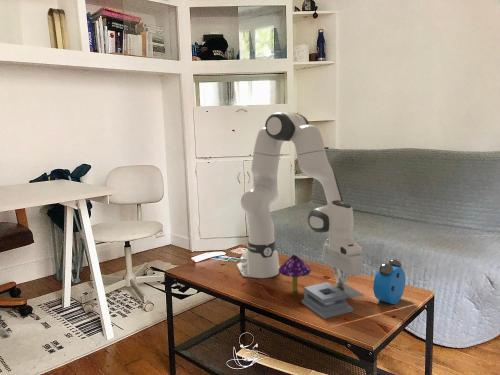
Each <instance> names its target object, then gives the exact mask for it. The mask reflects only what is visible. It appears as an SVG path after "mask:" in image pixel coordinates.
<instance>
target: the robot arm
mask: <svg viewBox="0 0 500 375" xmlns="http://www.w3.org/2000/svg"><path fill="white" fill-rule="evenodd" d="M255 139H256V140H255V143H254V148H253V156H252V160H251V161H252V162H251V172H252V177H253V178H252V179H253V185H252V187H250V188H248V189H247V190H246V191H245V192H244V193H243V194H242V195H241V198H240V205H241V207H242V209H243V211H244V212H245V216H246V220H247V226H248V240H247V245H246V246H247V249H246V250H245V251H243V253H241V257H240V258H239V263H238V262H237V264H236V268H237V270H239V272H240V274H241V276H242V277H245V278H247V277H248V278H254V279H268V278H272V277H276V276H277V275H279V274H280V272H279V268H280V267H281V265H280V261H279V260H280V259H279V253H278V251H277V250H276V241H275V224H274V221H273V219H272V216H271V210H270V209H271V207H272V206H273V205H275V204H276V202H277V200H278V197H279V191H278V170H279V164H280V155H281V149H282V148H281V147H282V145H283V143H284V142H291V143H293V144H294V146H295V152H296V157H297V158H296V160H297V164H298V167H299V169H300V171H301V172H302V173H303V174H304V175H305V176H308V177H310V178H312V179H314V180H317V181H318V182H319V183H320V184H321V186H322V187H323V192H324V194H325V198H326V201H327V204H326V205H323V206H320V207H319V206H318V207H316V208H313V209H311V210H310V211H309V213H308V216H307V224H308V226H309V229H310V230H312V231H313V232H315V233H321V234H322V233H327V234H328V238H326V239H325V241H324V244H323V246H322V247H323V248H322V255H321V257H322V258H321V259H322V261H323V262H324V263H326V264H328V265H330V266H332V267H331V269H332V271H333V275H334V276H333V277H334V278H335V279H337V268H338V269H340V270H341V271H343V274H344V275H343V277H341V281H342V282H345V283H347V282H348V278H349V276H351V277H358V276H360V275H361V274H362V273H363V258H362V254H363V248H362V247H361V246H360V245H359V244H358V243H357V242H356V241H355V240H354V234H353V228H354V210H353V207H352V204H350V203H349V202H347V201H344V200H343V197H342V193H341V190H340V187H339V182H338V180H337V179H338V178H337V176H336V173H335V170H334V169H333V167H332V166H331V164H330V162H329V160H328V156H327V154H326V153H327V151H326V148H325V143H324V139H323V137H322V134H321V131H320V129H319V128H318V127H317V126H316V125H313V124H310V123H309V120H308V119H307V118H306V116H304V115H302V114H300V113H294V112H274V113H272V114H271V115H269V116H268V117H267V118H266V121H265V124H264V127H262V128H260V129H259V130H258V133H257V136H256V138H255Z"/></svg>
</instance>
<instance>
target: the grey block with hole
mask: <svg viewBox="0 0 500 375" xmlns="http://www.w3.org/2000/svg"><path fill="white" fill-rule="evenodd" d="M335 286H336V285H333V284H331V283H329V282H321V283H318V284H312V285H308V286H304V287H303V298H302V299H301V303H302V304H303V305H305V306H306V307H307V308H309V309H310V310H311V311H312V312H314V313H315V314H317V315H318V316H319V317H320V318H322V319H325V320H326V319H328V318H331V317H336V316H341V315H345V314H348V313H351V312H354V310H355V309H354V307H353V306H352V305H350V304H348V301H347V299H346V298H348V294H347V293H345V292H344V291H342V290H340V289H338V288H337V287H335ZM343 299H345V300H343Z"/></svg>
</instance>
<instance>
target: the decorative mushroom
mask: <svg viewBox="0 0 500 375" xmlns="http://www.w3.org/2000/svg"><path fill="white" fill-rule="evenodd" d="M311 272H312V269H311V267H310V266H309V265H308V264H307V263H306V262H305V261H304V260H303V259H301V258H300V257H299V256H298V255H297V254H292V255H291V256H290V257H289V258H288V259H286V261H285V262H283V263H282V264H281V265H280V268H279V274H281V275H282V276H286V277H291V278H292V281H291V282H292V284H291V286H292V292H293V293H297V292H298V291H299V290H298V277H305V276H308V275H309V274H310V273H311Z"/></svg>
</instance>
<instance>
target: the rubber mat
mask: <svg viewBox="0 0 500 375" xmlns="http://www.w3.org/2000/svg"><path fill="white" fill-rule="evenodd" d="M334 286H335V287H337V285H334ZM345 293H347V294H348V298H346V299H343V300H345V301H346V300H348V299H352V298H357V297H361V296H365V294H364V293H362V292H360V291H359V290H356V289H355V288H353V287H351V286H349V285H347V284H346V283H345Z"/></svg>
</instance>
